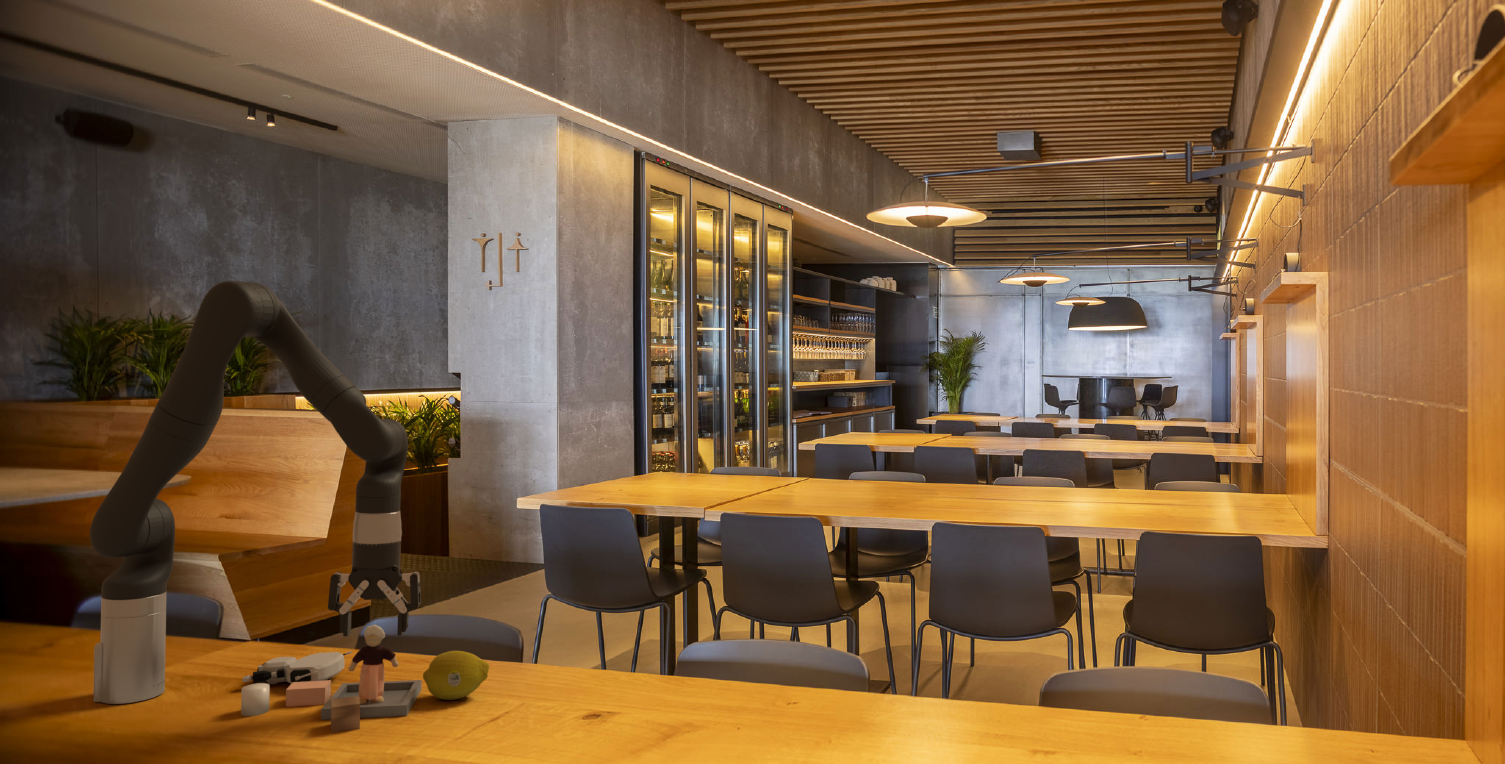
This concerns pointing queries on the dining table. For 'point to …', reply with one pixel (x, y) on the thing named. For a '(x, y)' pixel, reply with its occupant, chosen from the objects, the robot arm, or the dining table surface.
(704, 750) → the dining table surface
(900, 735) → the dining table surface
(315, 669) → the robot toy
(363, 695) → the grandmother figurine
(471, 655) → the lemon
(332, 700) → the walnut cube
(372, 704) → the tray
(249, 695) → the white rounded cylinder block
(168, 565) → the robot arm
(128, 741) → the dining table surface
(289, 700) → the terracotta block
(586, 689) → the dining table surface
